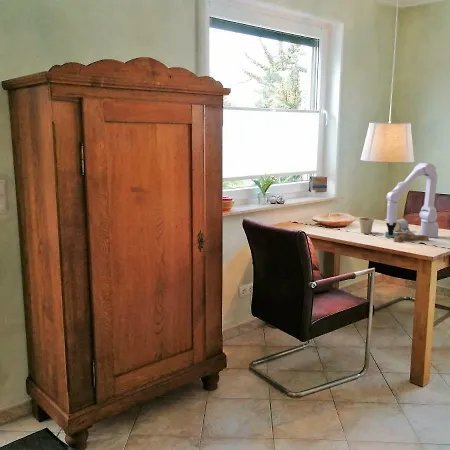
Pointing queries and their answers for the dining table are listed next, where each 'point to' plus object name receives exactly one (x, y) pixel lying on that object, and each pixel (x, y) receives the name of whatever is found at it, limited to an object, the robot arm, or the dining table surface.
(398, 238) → the brown irregular flat piece
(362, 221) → the flower pot
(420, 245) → the dining table surface
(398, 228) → the ceramic mug
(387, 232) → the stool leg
